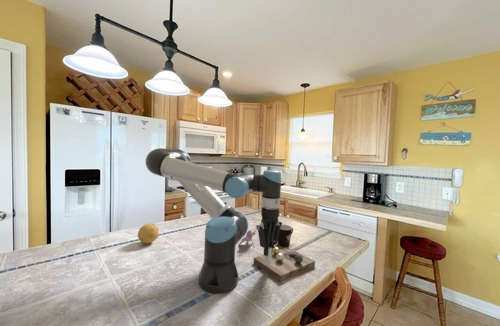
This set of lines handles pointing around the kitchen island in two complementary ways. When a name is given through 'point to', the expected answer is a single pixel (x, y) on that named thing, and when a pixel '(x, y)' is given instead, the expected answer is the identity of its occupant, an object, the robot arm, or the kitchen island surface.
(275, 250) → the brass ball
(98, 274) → the kitchen island surface
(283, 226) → the coffee mug
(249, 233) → the lily
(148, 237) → the stress ball
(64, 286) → the kitchen island surface
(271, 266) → the board
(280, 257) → the steel ball
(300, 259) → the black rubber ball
